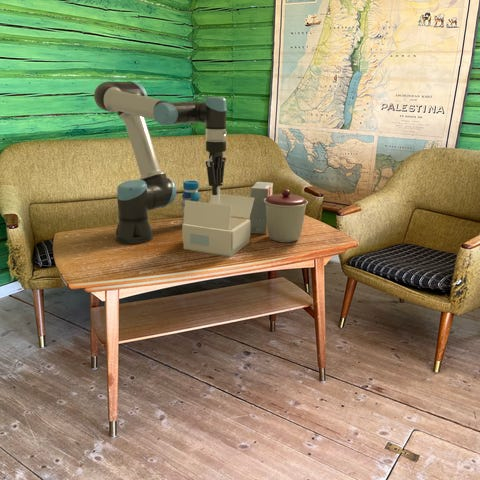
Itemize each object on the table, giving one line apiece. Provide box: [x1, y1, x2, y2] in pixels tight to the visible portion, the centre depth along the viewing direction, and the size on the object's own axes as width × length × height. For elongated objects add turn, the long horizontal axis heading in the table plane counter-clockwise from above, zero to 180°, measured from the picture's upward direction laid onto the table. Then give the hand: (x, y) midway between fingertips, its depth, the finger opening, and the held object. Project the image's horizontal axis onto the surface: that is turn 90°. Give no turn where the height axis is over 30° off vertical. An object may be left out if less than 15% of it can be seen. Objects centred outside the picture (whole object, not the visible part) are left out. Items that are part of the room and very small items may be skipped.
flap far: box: [208, 193, 254, 219], centre depth 199 cm, size 19×9×1 cm
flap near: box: [182, 200, 232, 230], centre depth 180 cm, size 19×9×1 cm
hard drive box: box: [249, 181, 274, 235], centre depth 213 cm, size 16×8×20 cm, turn 168°
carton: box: [181, 216, 251, 258], centre depth 191 cm, size 22×18×10 cm
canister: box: [264, 188, 309, 243], centre depth 200 cm, size 18×18×21 cm
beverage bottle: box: [181, 180, 201, 220], centre depth 216 cm, size 8×8×20 cm
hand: (216, 202), depth 186 cm, fingers closed
